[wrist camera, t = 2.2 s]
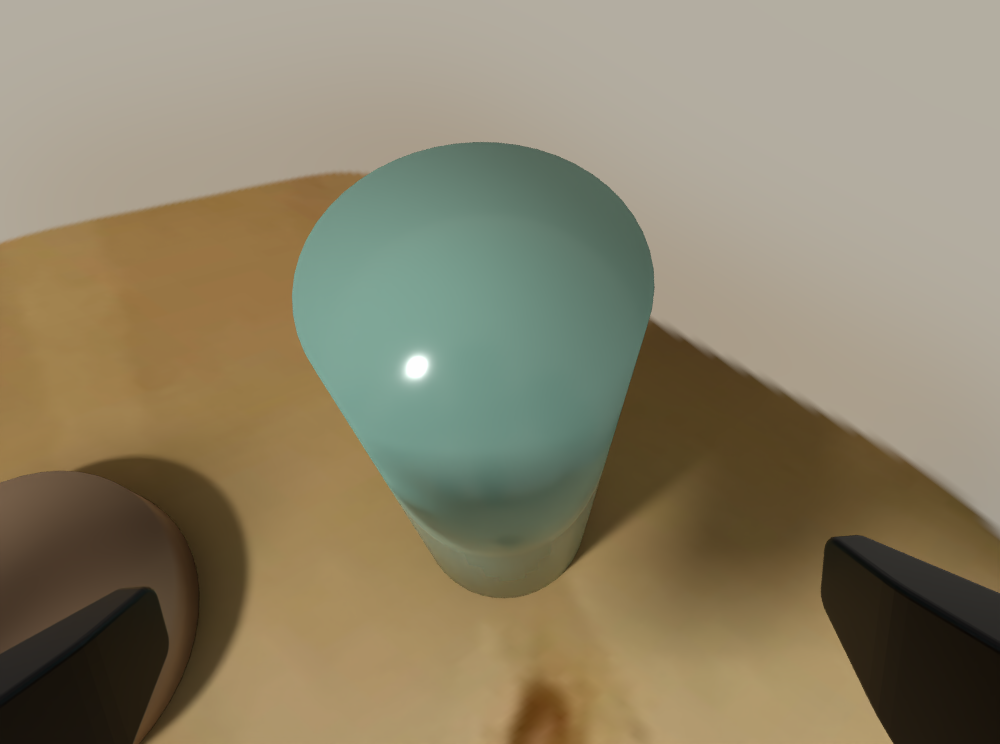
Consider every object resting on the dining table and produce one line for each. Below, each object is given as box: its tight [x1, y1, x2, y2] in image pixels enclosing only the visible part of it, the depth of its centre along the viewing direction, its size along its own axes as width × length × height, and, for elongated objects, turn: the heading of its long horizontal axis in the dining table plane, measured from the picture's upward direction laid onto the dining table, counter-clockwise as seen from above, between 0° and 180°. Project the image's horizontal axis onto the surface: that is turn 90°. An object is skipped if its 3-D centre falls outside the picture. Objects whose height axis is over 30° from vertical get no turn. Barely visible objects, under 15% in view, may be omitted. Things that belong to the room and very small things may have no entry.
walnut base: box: [0, 471, 199, 744], centre depth 18 cm, size 9×9×2 cm
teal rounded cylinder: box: [292, 142, 654, 598], centre depth 15 cm, size 5×5×12 cm
